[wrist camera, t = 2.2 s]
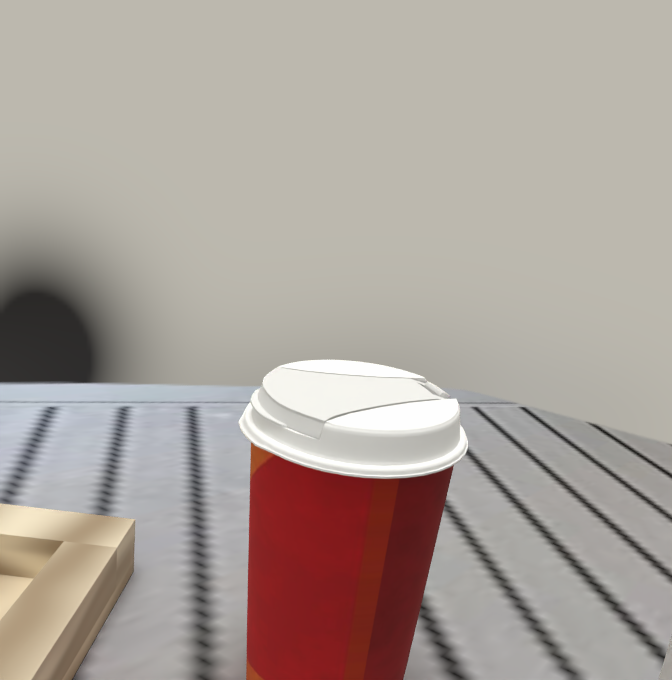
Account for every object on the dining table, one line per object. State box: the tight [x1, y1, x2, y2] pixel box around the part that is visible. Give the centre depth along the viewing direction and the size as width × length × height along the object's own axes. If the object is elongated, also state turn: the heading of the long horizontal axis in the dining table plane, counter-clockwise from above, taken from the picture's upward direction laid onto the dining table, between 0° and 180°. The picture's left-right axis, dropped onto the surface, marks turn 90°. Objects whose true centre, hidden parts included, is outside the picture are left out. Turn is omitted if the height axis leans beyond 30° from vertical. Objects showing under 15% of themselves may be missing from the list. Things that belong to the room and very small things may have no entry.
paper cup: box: [238, 360, 468, 680], centre depth 23 cm, size 8×8×14 cm
